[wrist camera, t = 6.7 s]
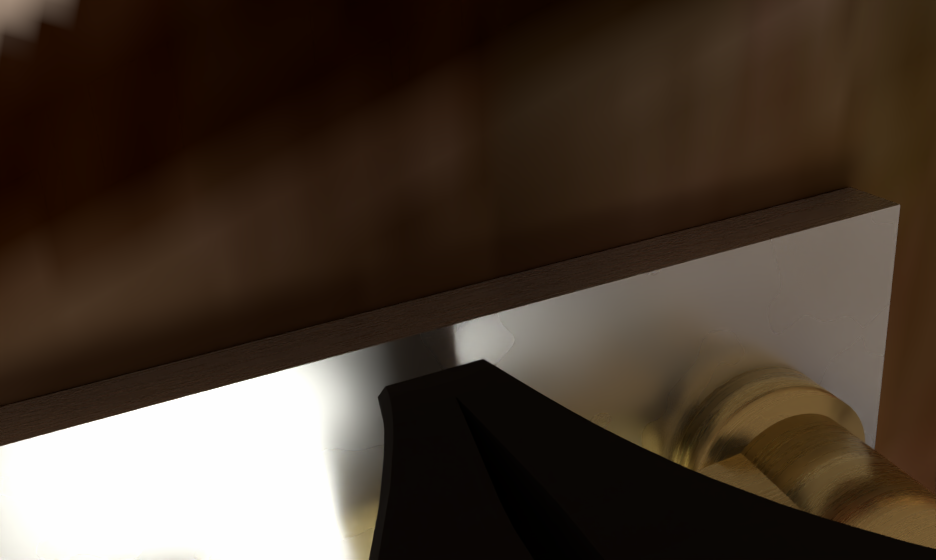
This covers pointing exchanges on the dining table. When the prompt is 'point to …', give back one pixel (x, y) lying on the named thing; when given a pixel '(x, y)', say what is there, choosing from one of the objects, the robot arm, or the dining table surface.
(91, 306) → the dining table surface
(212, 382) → the levelling plate
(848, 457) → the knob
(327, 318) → the dining table surface
